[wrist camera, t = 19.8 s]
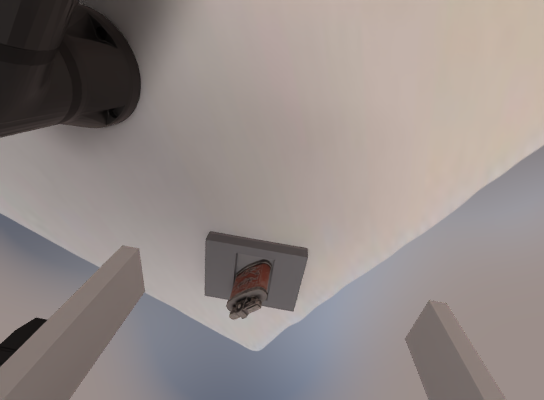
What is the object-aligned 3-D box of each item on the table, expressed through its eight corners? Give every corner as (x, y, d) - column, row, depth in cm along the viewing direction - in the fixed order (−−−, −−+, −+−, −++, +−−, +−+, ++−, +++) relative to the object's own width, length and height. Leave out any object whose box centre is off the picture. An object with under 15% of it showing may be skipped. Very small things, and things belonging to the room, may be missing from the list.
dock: (208, 285, 53) (204, 295, 51) (210, 231, 46) (205, 239, 44) (293, 301, 52) (293, 311, 50) (307, 248, 46) (307, 257, 44)
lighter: (243, 283, 51) (231, 328, 42) (232, 272, 50) (217, 316, 41) (275, 267, 48) (269, 312, 39) (264, 255, 47) (256, 299, 38)
